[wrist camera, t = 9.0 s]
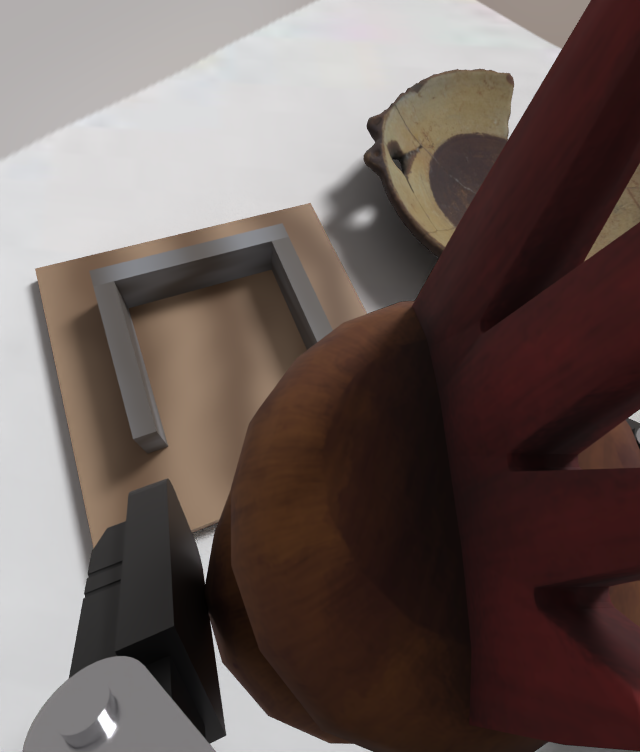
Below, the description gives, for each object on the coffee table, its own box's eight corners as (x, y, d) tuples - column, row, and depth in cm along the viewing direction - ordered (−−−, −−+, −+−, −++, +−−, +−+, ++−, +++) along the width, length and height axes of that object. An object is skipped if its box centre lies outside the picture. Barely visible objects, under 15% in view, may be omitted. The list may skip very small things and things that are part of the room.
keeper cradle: (104, 567, 24) (74, 566, 21) (42, 277, 31) (12, 238, 28) (424, 440, 29) (446, 420, 26) (309, 212, 36) (313, 171, 32)
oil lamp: (417, 88, 44) (445, -4, 37) (720, 218, 41) (813, 144, 34) (307, 241, 35) (316, 158, 28) (684, 426, 32) (800, 383, 25)
